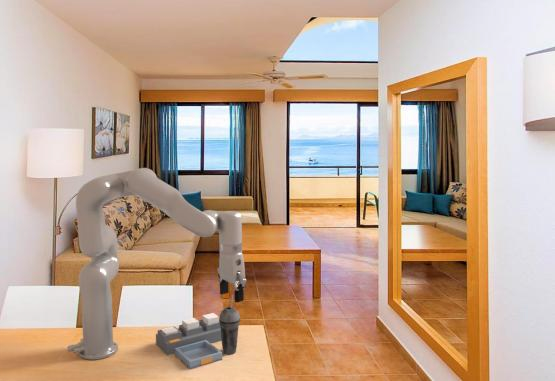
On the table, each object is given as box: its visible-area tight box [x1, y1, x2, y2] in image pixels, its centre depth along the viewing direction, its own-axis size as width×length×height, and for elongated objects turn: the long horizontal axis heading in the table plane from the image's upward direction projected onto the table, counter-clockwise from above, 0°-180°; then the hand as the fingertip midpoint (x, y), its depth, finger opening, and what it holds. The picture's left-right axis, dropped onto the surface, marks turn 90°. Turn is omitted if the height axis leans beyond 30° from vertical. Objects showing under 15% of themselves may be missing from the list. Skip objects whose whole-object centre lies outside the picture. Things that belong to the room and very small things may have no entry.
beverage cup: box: [219, 293, 241, 356], centre depth 159 cm, size 7×7×20 cm
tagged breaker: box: [160, 326, 178, 336], centre depth 162 cm, size 4×4×2 cm
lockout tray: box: [174, 340, 223, 370], centre depth 155 cm, size 12×12×2 cm
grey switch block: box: [155, 312, 222, 356], centre depth 167 cm, size 22×10×8 cm, turn 126°
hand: (231, 297), depth 158 cm, fingers open, 9 cm apart
